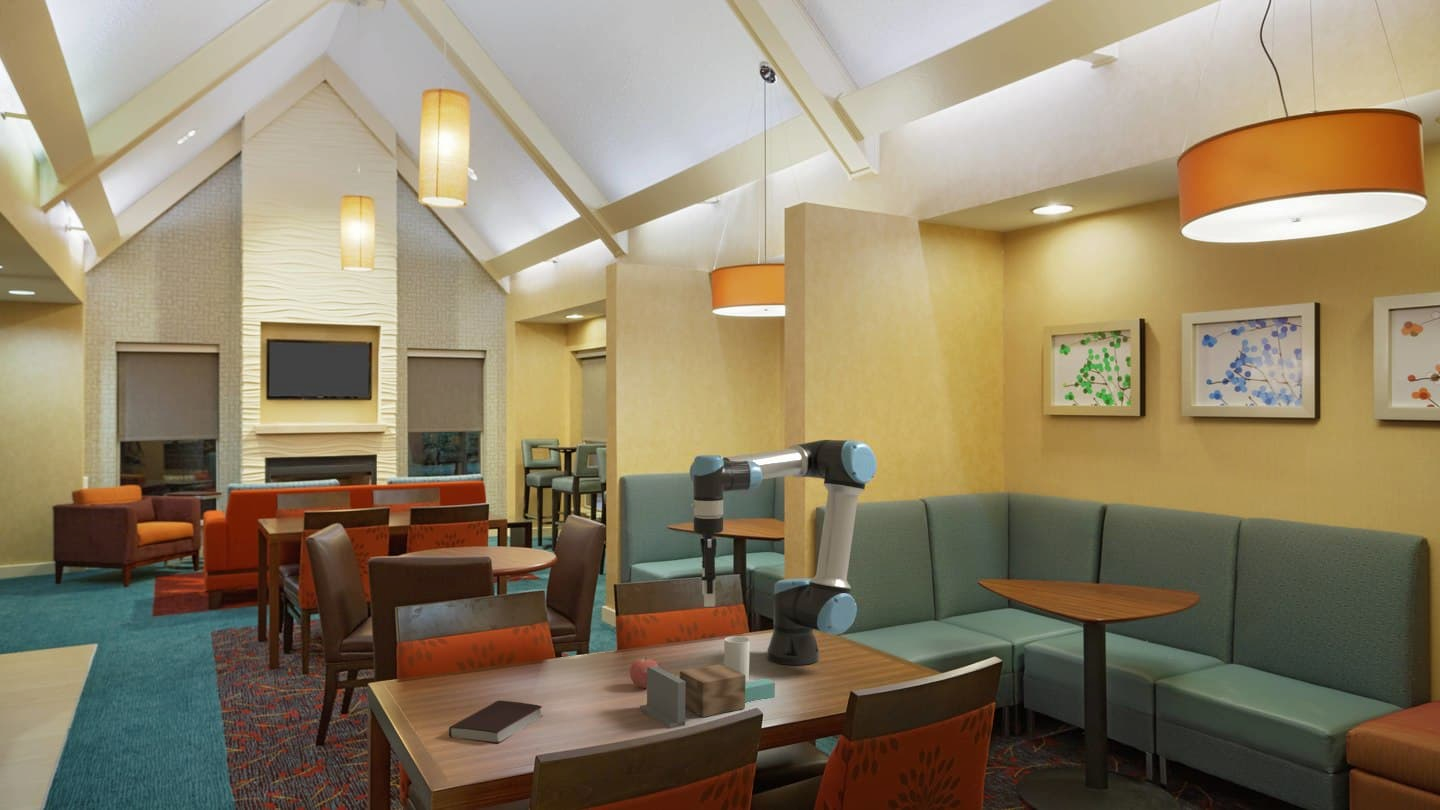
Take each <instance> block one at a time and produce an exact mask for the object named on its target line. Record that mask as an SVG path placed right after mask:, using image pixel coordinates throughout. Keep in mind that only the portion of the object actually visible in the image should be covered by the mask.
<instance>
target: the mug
mask: <svg viewBox="0 0 1440 810" xmlns="http://www.w3.org/2000/svg"><path fill="white" fill-rule="evenodd" d="M750 640H751V639H750V638H748V637H745V636H741V635H739V636H736V635H735V636H728V637H725V638H724V642H723V644H724V657H723V658H724V666H726V667H728V668H731V669H733V670H735V671H737V672H739V673H742V674H744V675H745V682H750V681H749V680H750V679H749V676H750V649H751V647H750V646H751V643H750V642H751V641H750Z"/></svg>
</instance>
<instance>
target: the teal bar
mask: <svg viewBox="0 0 1440 810" xmlns="http://www.w3.org/2000/svg"><path fill="white" fill-rule="evenodd" d="M775 685H776V683H775V682H774V681H773V680H770V679H767V678H762V679H755V680H752V681H748V682H745V703H746V704H748V703H747V702H750V703H752V702H751V701H755V700H760V701H762V700H761V699H764V700H769V699H774V698H775V697H776V695H775V694H776V686H775ZM768 698H769V699H768ZM755 702H756V701H755Z"/></svg>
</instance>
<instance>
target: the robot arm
mask: <svg viewBox="0 0 1440 810" xmlns="http://www.w3.org/2000/svg"><path fill="white" fill-rule="evenodd" d="M876 472H877V458H876V456H875V454H874V452H873V450H872V448H871V447H870V445H868V444H867V443H864V442H862V441H857V440H844V439H843V440H838V439H837V440H836V439H835V440H834V439H833V440H832V439H821V440H816V441H811V442H805V443H800V444H793V445H790V447H788V449H782V450H772V451H766V452H765V451H764V452H763V451H762V452H756V453H747V454H741V455H740V454H739V455H732V456H731V455H730V456H724V457H723V456H722V455H717V454H708V455H707V454H704V455H703V454H700V455H696V456H695V457H694V459H693V462H692V463H691V464H690V468H689V477H690V479H691V482H693V483H692V484H693V485H692V486H693V502H692V503H691V504H690V506H691V508H693V515H694V518H693V532H695V533H697V534H701V535H702V538H700V549H701V556H702V559H701V564H702V565H701V567H702V569H701V572H702V573H701V575H702V576H701V583H702V584H701V585H702V587H701V589H702V590H701V591H702V595H703V606H704V607H706V608H709V607H711V608H712V607H716V578H717V576H716V562H715V561H716V556H717V555H716V554H717V545H718V544H717V538H716V537H715V538H714V534H719V533H722V532H724V518H723V515H724V493H725V492H734V491H735V492H737V491H739V492H740V491H747V492H748V491H751V490H756V489H757V488H759V487H760V486H761V484H762V481H763V480H766V479H774V478H780V477H787V476H792V477H794V478H797V479H798V478H813V479H815V478H816V479H822V480H823V486H824V487H825V489H826V490H827V496H826V497H827V498H826V505H825V510H824V518H823V526H822V533H821V539H820V545H819V553H818V561H817V566H816V574H815V576H814V577H812V578H809V577H808V578H807V577H805V578H804V577H801V578H800V577H799V578H787V579H781V580H778V581H776V582H775V583H774V587H773V589H774V590H773V594H772V595H773V596H772V597H773V631H772V636H771V638H770V642H769V644H768V647H767V652H766V653H767V654H766V655H767V656H766V657H767V659H768V661H771V662H773V663H777V664H782V665H788V666H803V665H805V666H806V665H809V664H810V665H811V664H814V663H817V662H818V661H819V660H820V649H819V646H818V643H817V640H816V636H815V633H814V630H815V631H819V632H821V633H823V634H829V635H830V634H831V635H841V634H843V633H845V632H846V631H847V630H848V629H849V628H850V627H851V626H852V625H853V623H854V621H855V618H856V616H857V608H858V607H857V603H856V601H855V599H854V597H853V596H852V595H851V589H852V587H851V585H850V584H849V582H848V580H847V578H848V572H849V565H850V564H849V563H850V559H851V558H850V556H851V549H852V545H853V544H852V543H853V537H854V529H855V522H856V515H857V514H856V512H857V506H858V499H859V495H861V494H862V493H863V492H865V489H866V484H867V483H869V482H871V481H872V479H873V478H874V477H875V475H876Z"/></svg>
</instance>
